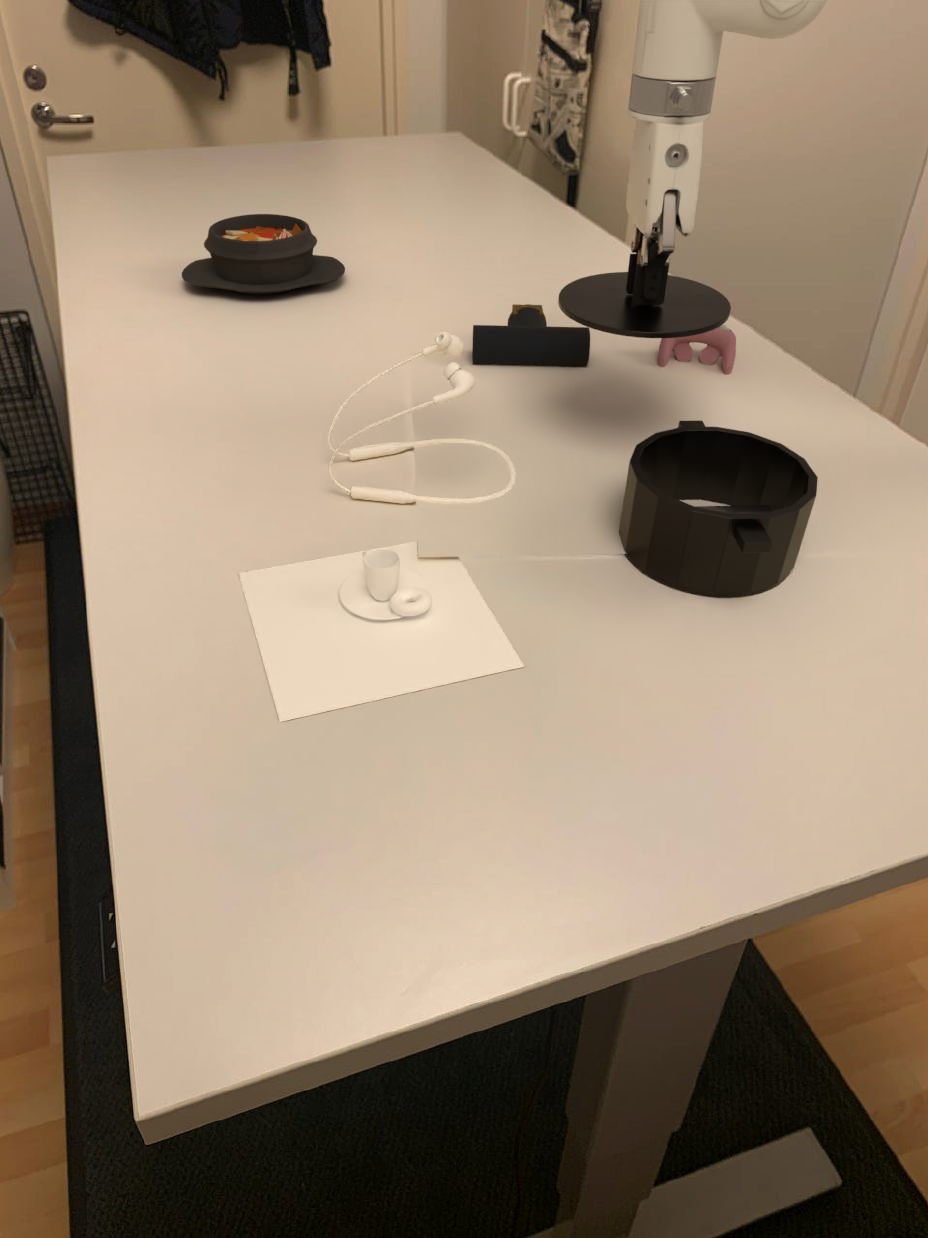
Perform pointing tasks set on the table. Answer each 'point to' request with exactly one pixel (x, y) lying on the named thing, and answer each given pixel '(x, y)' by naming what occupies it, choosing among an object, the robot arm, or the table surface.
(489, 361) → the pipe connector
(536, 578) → the table surface
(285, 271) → the casserole
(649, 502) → the pot
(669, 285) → the lid
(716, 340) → the video game controller
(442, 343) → the earphone
